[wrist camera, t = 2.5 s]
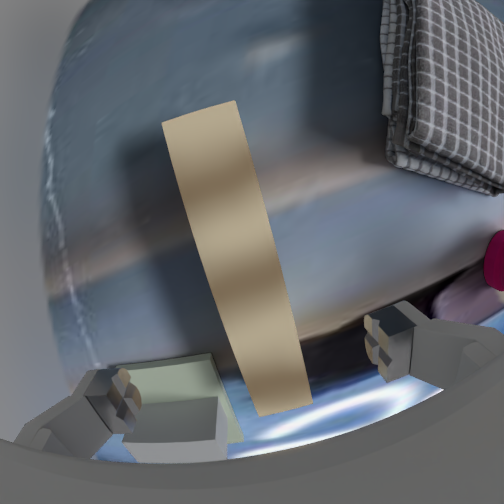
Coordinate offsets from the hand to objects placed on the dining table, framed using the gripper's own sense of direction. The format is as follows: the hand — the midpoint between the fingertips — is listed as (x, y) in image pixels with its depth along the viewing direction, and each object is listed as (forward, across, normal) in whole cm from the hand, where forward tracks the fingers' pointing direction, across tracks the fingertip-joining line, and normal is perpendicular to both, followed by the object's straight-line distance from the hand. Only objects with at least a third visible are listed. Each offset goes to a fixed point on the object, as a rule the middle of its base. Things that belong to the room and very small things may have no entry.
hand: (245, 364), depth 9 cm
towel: (+12, -21, -11) cm, 27 cm away
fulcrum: (+12, +8, +12) cm, 19 cm away
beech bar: (+12, 0, 0) cm, 12 cm away
